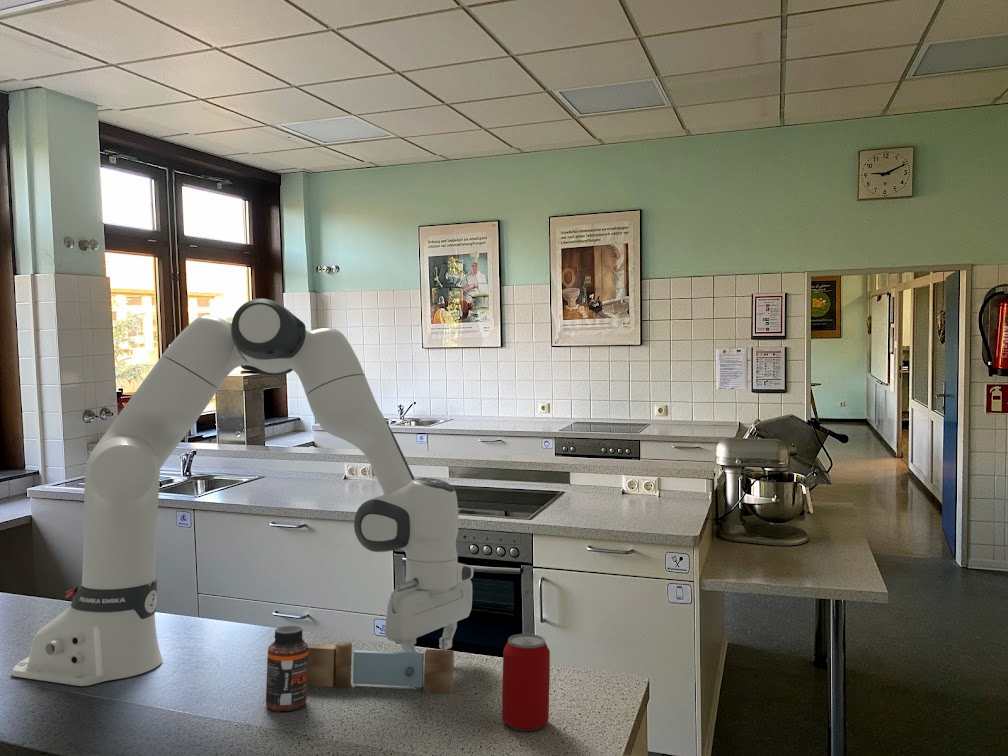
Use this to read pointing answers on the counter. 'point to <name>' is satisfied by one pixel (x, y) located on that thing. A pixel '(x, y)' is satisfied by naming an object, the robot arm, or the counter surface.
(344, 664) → the door frame
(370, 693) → the counter surface
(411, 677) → the door
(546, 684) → the beverage can
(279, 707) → the supplement bottle
